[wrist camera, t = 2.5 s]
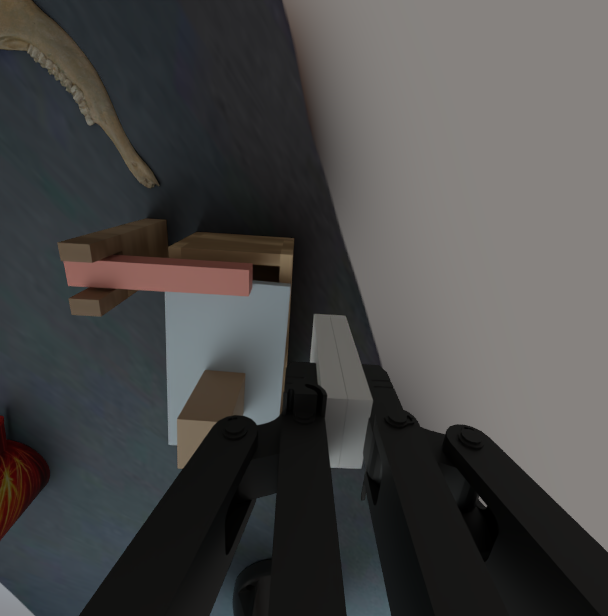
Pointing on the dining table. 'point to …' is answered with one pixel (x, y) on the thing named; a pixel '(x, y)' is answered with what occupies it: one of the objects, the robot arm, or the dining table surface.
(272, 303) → the lid
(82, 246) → the post
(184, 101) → the dining table surface
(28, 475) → the mug
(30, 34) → the jawbone
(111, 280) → the bar
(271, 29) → the dining table surface
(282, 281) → the open wooden box
